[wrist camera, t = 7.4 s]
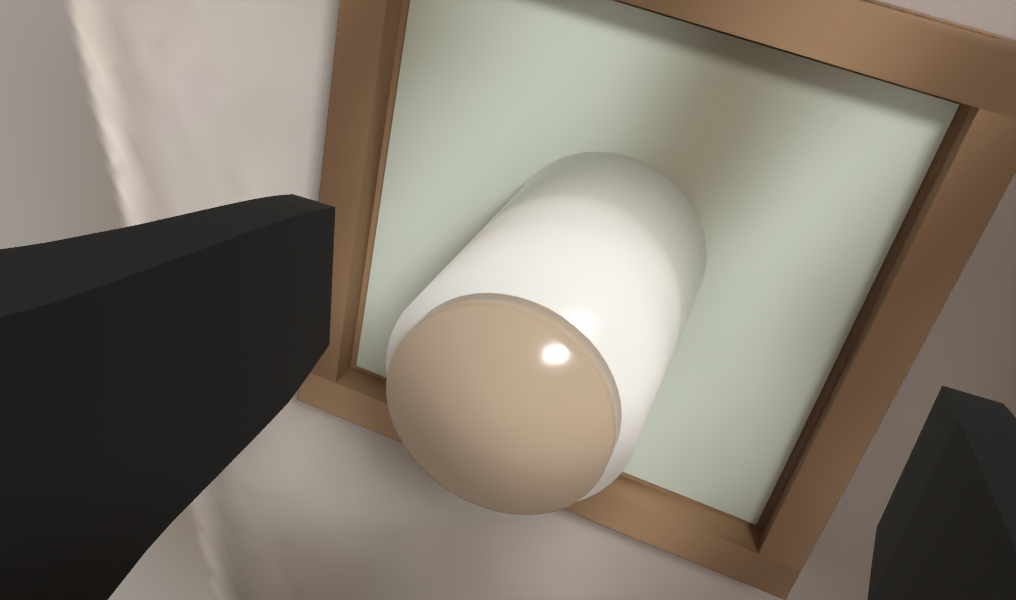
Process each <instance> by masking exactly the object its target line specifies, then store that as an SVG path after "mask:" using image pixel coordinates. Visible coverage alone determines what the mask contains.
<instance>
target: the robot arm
mask: <svg viewBox="0 0 1016 600" xmlns="http://www.w3.org/2000/svg"><path fill="white" fill-rule="evenodd" d="M334 228H335V207H334V206H330V205H327V204H323V203H320V202H317V201H313V200H310V199H306V198H303V197H300V196H296V195H293V194H290V195H279V196H271V197H264V198H259V199H253V200H248V201H243V202H238V203H233V204H229V205H224V206H219V207H215V208H211V209H206V210H202V211H197V212H193V213H188V214H184V215H179V216H175V217H171V218H166V219H162V220H157V221H153V222H148V223H144V224H139V225H135V226H130V227H125V228H120V229H114V230H109V231H105V232H99V233H94V234H89V235H83V236H79V237H73V238H68V239H63V240H58V241H53V242H47V243H41V244H35V245H28V246H21V247H14V248H7V249H0V600H108V598H109V597H110V596H111V595H112V593H113V592H114V591H115V590H116V588H117V587H118V586H119V585H120V583H121V582H122V581H123V579H124V578H125V577H126V576H127V574H128V573H129V572H130V570H131V569H132V568H133V567H134V565H135V564H136V563H137V562H138V560H139V559H140V558H141V557H142V555H143V554H144V553H145V552H146V550H147V549H148V548H149V547H150V546H151V545H152V544H153V542H154V541H155V540H156V539H157V538H158V537H159V536H160V535H161V534H162V533H163V531H164V530H165V529H166V528H167V527H168V526H169V525H170V524H171V523H172V521H173V520H174V519H175V518H176V517H177V516H178V515H179V514H180V513H181V512H182V511H183V510H184V509H185V508H186V507H187V506H188V505H189V504H190V503H191V502H192V501H193V500H194V499H195V498H196V497H197V496H198V495H199V494H200V493H201V492H202V491H203V490H204V489H205V488H206V487H207V486H208V485H209V484H210V483H211V482H212V481H213V480H214V479H215V478H216V477H217V476H218V475H219V474H220V473H221V472H222V471H223V470H224V469H225V468H226V467H227V466H228V465H229V464H230V463H231V462H232V460H233V459H234V458H235V457H236V456H237V455H238V454H239V453H240V452H241V451H242V450H243V449H244V448H245V447H246V446H247V445H248V444H249V443H250V442H251V441H252V440H253V439H254V438H255V437H256V436H257V435H258V434H259V433H260V432H261V431H262V430H263V429H264V428H265V427H266V426H267V424H268V423H269V422H270V421H271V420H272V419H273V418H274V417H275V416H276V415H277V414H278V413H279V412H280V411H281V410H282V409H283V408H284V407H285V405H286V404H287V403H288V402H289V401H290V399H291V398H292V397H293V395H294V394H295V393H296V391H297V390H298V389H299V387H300V386H301V385H302V383H303V382H304V381H305V379H306V378H307V377H308V375H309V374H310V372H311V371H312V369H313V368H314V367H315V365H316V364H317V362H318V361H319V359H320V358H321V356H322V355H323V353H324V352H325V351H326V349H327V348H328V346H329V344H330V321H331V298H332V275H333V252H334ZM868 600H1016V418H1015V417H1014V415H1013V414H1012V413H1011V412H1010V411H1009V410H1008V408H1007V407H1006V406H1005V405H1004V404H1002V403H999V402H995V401H992V400H989V399H985V398H982V397H979V396H975V395H972V394H968V393H965V392H962V391H958V390H955V389H951V388H948V387H945V386H942V387H941V390H940V392H939V394H938V396H937V398H936V400H935V403H934V405H933V407H932V409H931V411H930V413H929V416H928V418H927V420H926V422H925V424H924V426H923V429H922V431H921V433H920V435H919V437H918V439H917V442H916V444H915V446H914V448H913V450H912V452H911V455H910V457H909V459H908V461H907V463H906V465H905V468H904V470H903V472H902V474H901V476H900V478H899V481H898V483H897V485H896V487H895V489H894V491H893V494H892V496H891V498H890V500H889V502H888V504H887V507H886V509H885V511H884V513H883V515H882V518H881V520H880V522H879V524H878V526H877V531H876V539H875V546H874V553H873V561H872V568H871V576H870V585H869V594H868Z"/></svg>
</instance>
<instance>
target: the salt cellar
mask: <svg viewBox="0 0 1016 600" xmlns="http://www.w3.org/2000/svg"><path fill="white" fill-rule="evenodd" d="M706 262H707V249H706V242H705V236H704V232H703V229H702V226H701V223H700V220H699V218H698V216H697V214H696V211H695V210H694V208H693V206H692V205H691V203H690V202H689V200H688V199H687V197H686V196H685V195H684V194H683V192H682V191H681V190H680V189H679V188H678V187H677V186H676V185H675V184H674V183H673V182H672V181H671V180H670V179H669V178H668V177H666V176H665V175H664V174H662V173H661V172H660V171H658V170H657V169H655V168H653V167H651V166H650V165H648V164H646V163H644V162H642V161H639V160H637V159H635V158H632V157H628V156H625V155H621V154H617V153H610V152H583V153H577V154H573V155H569V156H565V157H563V158H560V159H558V160H555V161H553V162H552V163H550V164H548V165H547V166H545V167H543V168H542V169H541V170H539V171H538V172H537V173H536V174H534V175H533V176H532V177H531V179H530V180H529V181H528V182H527V183H526V184H525V185H524V186H523V187H522V188H521V189H520V190H519V191H518V192H517V193H516V194H515V195H514V196H513V197H512V198H511V199H510V200H509V201H508V203H507V204H506V205H505V206H504V207H503V208H502V209H501V210H500V211H499V212H498V213H497V214H496V215H495V216H494V217H493V218H492V219H491V220H490V221H489V222H488V223H487V224H486V225H485V226H484V228H483V229H482V230H481V231H480V232H479V233H478V234H477V235H476V236H475V237H474V238H473V239H472V240H471V241H470V242H469V243H468V244H467V245H466V246H465V247H464V248H463V249H462V250H461V252H460V253H459V254H458V255H457V256H456V257H455V258H454V259H453V260H452V261H451V262H450V263H449V264H448V265H447V266H446V267H445V268H444V269H443V270H442V271H441V272H440V273H439V274H438V275H437V277H436V278H435V279H434V280H433V281H432V282H431V283H430V284H429V285H428V286H427V287H426V288H425V289H424V290H423V291H422V292H421V293H420V294H419V295H418V296H417V297H416V298H415V299H414V301H413V302H412V303H411V304H410V305H409V306H408V307H407V308H406V309H405V310H404V312H403V313H402V315H401V316H400V318H399V319H398V321H397V322H396V325H395V327H394V329H393V331H392V334H391V337H390V340H389V344H388V348H387V358H386V372H387V381H386V396H387V403H388V409H389V413H390V416H391V419H392V422H393V425H394V427H395V429H396V431H397V434H398V436H399V438H400V439H401V441H402V443H403V444H404V446H405V448H406V449H407V450H408V452H409V453H410V455H411V456H412V457H413V459H414V460H415V461H416V462H417V463H418V464H419V465H420V466H421V468H422V469H423V470H424V471H425V472H426V473H428V474H429V475H430V476H431V477H432V478H433V479H434V480H435V481H437V482H438V483H439V484H441V485H442V486H443V487H445V488H446V489H447V490H449V491H451V492H452V493H454V494H456V495H457V496H459V497H461V498H463V499H465V500H467V501H469V502H471V503H473V504H476V505H478V506H481V507H484V508H487V509H490V510H494V511H498V512H503V513H509V514H519V515H534V514H543V513H549V512H554V511H557V510H560V509H563V508H566V507H568V506H569V505H571V504H573V503H575V502H577V501H580V500H583V499H586V498H588V497H590V496H592V495H594V494H596V493H598V492H600V491H601V490H603V489H604V488H605V487H607V486H608V485H610V484H611V483H612V482H613V481H614V480H615V479H616V478H617V477H618V476H619V475H620V474H621V473H622V471H623V470H624V468H625V467H626V466H627V464H628V463H629V461H630V459H631V457H632V455H633V452H634V450H635V448H636V446H637V443H638V441H639V438H640V436H641V433H642V431H643V428H644V426H645V423H646V421H647V418H648V416H649V413H650V411H651V409H652V406H653V404H654V401H655V399H656V396H657V394H658V391H659V389H660V386H661V384H662V381H663V379H664V376H665V374H666V372H667V369H668V367H669V364H670V362H671V359H672V357H673V354H674V352H675V349H676V347H677V344H678V342H679V339H680V337H681V334H682V332H683V330H684V327H685V325H686V322H687V320H688V317H689V315H690V312H691V310H692V307H693V305H694V302H695V300H696V297H697V295H698V292H699V290H700V288H701V285H702V282H703V278H704V275H705V269H706Z"/></svg>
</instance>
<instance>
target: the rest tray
mask: <svg viewBox="0 0 1016 600" xmlns="http://www.w3.org/2000/svg"><path fill="white" fill-rule="evenodd" d="M583 152H610V153H617V154H621V155H625V156H628V157H632V158H635V159H637V160H639V161H642V162H644V163H646V164H648V165H650V166H651V167H653V168H655V169H657V170H658V171H660V172H661V173H662V174H664V175H665V176H666V177H668V178H669V179H670V180H671V181H672V182H673V183H674V184H675V185H676V186H677V187H678V188H679V189H680V190H681V191H682V192H683V194H684V195H685V196H686V197H687V199H688V200H689V202H690V203H691V205H692V206H693V208H694V210H695V211H696V214H697V216H698V218H699V220H700V223H701V226H702V229H703V232H704V236H705V242H706V249H707V262H706V269H705V275H704V278H703V282H702V285H701V288H700V290H699V292H698V295H697V297H696V300H695V302H694V305H693V307H692V310H691V312H690V315H689V317H688V320H687V322H686V325H685V327H684V330H683V332H682V334H681V337H680V339H679V342H678V344H677V347H676V349H675V352H674V354H673V357H672V359H671V362H670V364H669V367H668V369H667V372H666V374H665V376H664V379H663V381H662V384H661V386H660V389H659V391H658V394H657V396H656V399H655V401H654V404H653V406H652V409H651V411H650V413H649V416H648V418H647V421H646V423H645V426H644V428H643V431H642V433H641V436H640V438H639V441H638V443H637V446H636V448H635V450H634V452H633V455H632V457H631V459H630V461H629V463H628V464H627V466H626V467H625V468H624V470H623V471H622V473H621V474H620V475H619V476H618V477H617V478H616V479H615V480H614V481H613V482H612V483H611V484H610V485H608V486H607V487H605V488H604V489H603V490H601V491H600V492H598V493H596V494H594V495H592V496H590V497H588V498H586V499H583V500H580V501H577V502H575V503H573V504H571V505H569V506H568V507H566V508H563V509H565V510H568V511H570V512H572V513H575V514H577V515H580V516H582V517H585V518H587V519H590V520H592V521H594V522H597V523H599V524H602V525H604V526H607V527H609V528H611V529H614V530H616V531H619V532H621V533H624V534H626V535H628V536H631V537H633V538H636V539H638V540H641V541H643V542H645V543H648V544H650V545H653V546H655V547H658V548H660V549H663V550H665V551H667V552H670V553H672V554H675V555H677V556H680V557H682V558H684V559H687V560H689V561H692V562H694V563H697V564H699V565H701V566H704V567H706V568H709V569H711V570H714V571H716V572H718V573H721V574H723V575H726V576H728V577H731V578H733V579H736V580H738V581H740V582H743V583H745V584H748V585H750V586H753V587H755V588H757V589H760V590H762V591H765V592H767V593H770V594H772V595H774V596H777V597H779V598H782V599H784V600H785V599H786V598H787V596H788V594H789V592H790V590H791V588H792V586H793V585H794V583H795V581H796V579H797V577H798V575H799V573H800V572H801V570H802V568H803V566H804V564H805V562H806V560H807V559H808V557H809V555H810V553H811V551H812V549H813V547H814V546H815V544H816V542H817V540H818V538H819V536H820V534H821V533H822V531H823V529H824V527H825V525H826V523H827V521H828V520H829V518H830V516H831V514H832V512H833V510H834V508H835V507H836V505H837V503H838V501H839V499H840V497H841V495H842V494H843V492H844V490H845V488H846V486H847V484H848V482H849V481H850V479H851V477H852V475H853V473H854V471H855V469H856V468H857V466H858V464H859V462H860V460H861V458H862V456H863V455H864V453H865V451H866V449H867V447H868V445H869V443H870V442H871V440H872V438H873V436H874V434H875V432H876V430H877V428H878V427H879V425H880V423H881V421H882V419H883V417H884V415H885V414H886V412H887V410H888V408H889V406H890V404H891V402H892V401H893V399H894V397H895V395H896V393H897V391H898V389H899V388H900V386H901V384H902V382H903V380H904V378H905V376H906V375H907V373H908V371H909V369H910V367H911V365H912V363H913V362H914V360H915V358H916V356H917V354H918V352H919V350H920V349H921V347H922V345H923V343H924V341H925V339H926V337H927V336H928V334H929V332H930V330H931V328H932V326H933V324H934V323H935V321H936V319H937V317H938V315H939V313H940V311H941V310H942V308H943V306H944V304H945V302H946V300H947V298H948V297H949V295H950V293H951V291H952V289H953V287H954V285H955V284H956V282H957V280H958V278H959V276H960V274H961V272H962V271H963V269H964V267H965V265H966V263H967V261H968V259H969V257H970V256H971V254H972V252H973V250H974V248H975V246H976V244H977V243H978V241H979V239H980V237H981V235H982V233H983V231H984V230H985V228H986V226H987V224H988V222H989V220H990V218H991V217H992V215H993V213H994V211H995V209H996V207H997V205H998V204H999V202H1000V200H1001V198H1002V196H1003V194H1004V192H1005V191H1006V189H1007V187H1008V185H1009V183H1010V181H1011V179H1012V178H1013V176H1014V174H1015V172H1016V40H1013V39H1010V38H1006V37H1003V36H999V35H996V34H992V33H989V32H985V31H982V30H978V29H975V28H971V27H968V26H964V25H961V24H957V23H954V22H950V21H947V20H943V19H940V18H936V17H932V16H929V15H925V14H922V13H918V12H915V11H911V10H908V9H904V8H901V7H897V6H894V5H890V4H887V3H883V2H880V1H876V0H340V9H339V18H338V27H337V36H336V46H335V55H334V64H333V73H332V83H331V92H330V101H329V110H328V120H327V129H326V138H325V147H324V157H323V166H322V175H321V184H320V194H319V202H320V203H323V204H327V205H330V206H334V207H335V228H334V252H333V275H332V298H331V321H330V344H329V346H328V348H327V349H326V351H325V352H324V353H323V355H322V356H321V358H320V359H319V361H318V362H317V364H316V365H315V367H314V368H313V369H312V371H311V372H310V374H309V375H308V377H307V378H306V379H305V381H304V382H303V383H302V385H301V386H300V387H299V389H298V397H297V399H298V400H300V401H302V402H305V403H307V404H310V405H312V406H315V407H317V408H319V409H322V410H324V411H327V412H329V413H332V414H334V415H337V416H339V417H341V418H344V419H346V420H349V421H351V422H354V423H356V424H358V425H361V426H363V427H366V428H368V429H371V430H373V431H375V432H378V433H380V434H383V435H385V436H388V437H390V438H392V439H395V440H397V441H400V442H402V441H401V439H400V438H399V436H398V434H397V431H396V429H395V427H394V425H393V422H392V419H391V416H390V413H389V409H388V403H387V396H386V381H387V372H386V358H387V348H388V344H389V340H390V337H391V334H392V331H393V329H394V327H395V325H396V322H397V321H398V319H399V318H400V316H401V315H402V313H403V312H404V310H405V309H406V308H407V307H408V306H409V305H410V304H411V303H412V302H413V301H414V299H415V298H416V297H417V296H418V295H419V294H420V293H421V292H422V291H423V290H424V289H425V288H426V287H427V286H428V285H429V284H430V283H431V282H432V281H433V280H434V279H435V278H436V277H437V275H438V274H439V273H440V272H441V271H442V270H443V269H444V268H445V267H446V266H447V265H448V264H449V263H450V262H451V261H452V260H453V259H454V258H455V257H456V256H457V255H458V254H459V253H460V252H461V250H462V249H463V248H464V247H465V246H466V245H467V244H468V243H469V242H470V241H471V240H472V239H473V238H474V237H475V236H476V235H477V234H478V233H479V232H480V231H481V230H482V229H483V228H484V226H485V225H486V224H487V223H488V222H489V221H490V220H491V219H492V218H493V217H494V216H495V215H496V214H497V213H498V212H499V211H500V210H501V209H502V208H503V207H504V206H505V205H506V204H507V203H508V201H509V200H510V199H511V198H512V197H513V196H514V195H515V194H516V193H517V192H518V191H519V190H520V189H521V188H522V187H523V186H524V185H525V184H526V183H527V182H528V181H529V180H530V179H531V177H532V176H533V175H534V174H536V173H537V172H538V171H539V170H541V169H542V168H543V167H545V166H547V165H548V164H550V163H552V162H553V161H555V160H558V159H560V158H563V157H565V156H569V155H573V154H577V153H583Z"/></svg>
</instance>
